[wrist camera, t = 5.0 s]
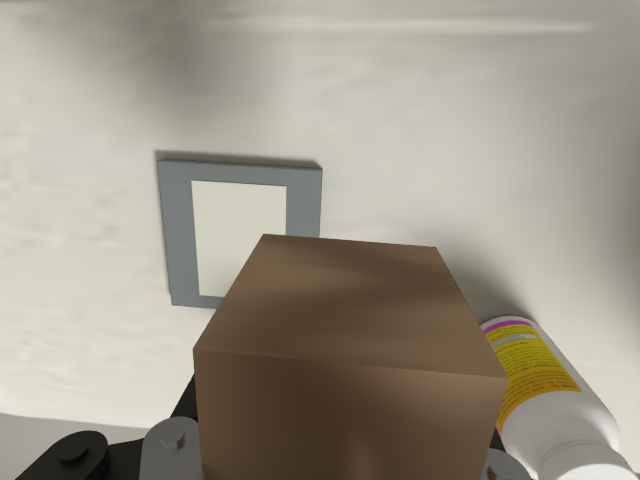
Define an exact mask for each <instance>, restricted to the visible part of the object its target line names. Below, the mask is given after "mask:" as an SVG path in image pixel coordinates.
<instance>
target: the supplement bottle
mask: <svg viewBox="0 0 640 480" xmlns="http://www.w3.org/2000/svg"><path fill="white" fill-rule="evenodd" d="M480 327H481V329H482V331H483V332H484V334H485V336H486V338H487V340H488V341H489V343H490V345H491V347H492V348H493V350H494V352H495V354H496V356H497V357H498V359H499V361H500V363H501V365H502V366H503V368H504V370H505V372H506V373H507V375H508V377H509V382H508V385H507V389H506V392H505V396H504V399H503V402H502V406H501V409H500V413H499V416H498V419H497V423H496V426H495V427H496V429H497V431H498V434H499V436H500V438H501V441H502V443H503V445H504V447H505V450H506V452H507V453H508V454H509V455H511V456H513V457H514V458H515V459H517V460H518V461H519V462H520V463H521V464H522V465H523V466H524V467H525V468H526V470H527V471H528V473H529V475H530V477H531V478H533V479H536V480H638V478H637V476H636V474H635V473H634V472H633V470H632V469H631V467H630V466H629V464H628V463H627V461H626V460H625V459H624V457H622V456H621V455H620V454H619V453H618V451H619V448H620V440H621V438H620V431H619V427H618V424H617V422H616V420H615V418H614V417H613V415H612V414H611V412H610V411H609V410H608V409H607V407H606V406H605V405H604V404H603V402H602V401H601V400H600V399H599V398H598V396H597V395H596V394H595V393H594V392H593V390H592V389H591V388H590V387H589V385H588V384H587V383H586V382H585V380H584V379H583V378H582V377H581V376H580V374H579V373H578V372H577V371H576V369H575V368H574V367H573V366H572V365H571V363H570V362H569V361H568V360H567V358H566V357H565V356H564V355H563V353H562V352H561V351H560V350H559V348H558V347H557V346H556V345H555V343H554V342H553V341H552V340H551V339H550V337H549V336H548V335H547V334H546V333H545V331H544V330H543V329H542V328H541V327H540V326H539V325H537V324H536V323H535V322H533V321H531V320H529V319H526V318H523V317H518V316H503V317H498V318H494V319H492V320H489V321H487V322H485V323H484V324H482V325H481V326H480Z"/></svg>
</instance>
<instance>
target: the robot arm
mask: <svg viewBox="0 0 640 480" xmlns="http://www.w3.org/2000/svg"><path fill="white" fill-rule="evenodd" d="M15 480H205V474H204V464H201V454H200V441H199V427H198V414H197V400H196V386H195V373H194V375H193V376H192V378H191V381H190V382H189V384H188V385H187V387H186V389H185V391H184V393H183V395H182V396H181V398H180V400H179V402H178V404H177V405H176V407H175V409H174V411H173V413H172V415H171V416H170V418H168V419H166V420H163V421H161V422H159V423H158V424H156V425H155V426H154V427H153V428H151V429H150V431H149V432H148V433H147V434H146V436H145V437H144V438H142V439H139V440H134V441H129V442H123V443H117V444H111V445H108V442H107V439H106V438H105V436H104V435H102V434H101V433H99V432H97V431H80V432H76V433H73V434H70V435H68V436H66V437H64V438H62V439H60V440H59V441H57V442H56V443H55V444H53V445H52V446H51V447H50V448H49V449H48V450H47V451H46V452H44V454H42V455H41V456H40V457H39V458H38V459H37V460H36V461H35V462H34V463H33V464H31V465H30V466H29V467H28V468H27V469H26V470H25V471H24V472H23V473H22V474H21V475H19V476H18V477H17V478H16V479H15ZM480 480H533V479H531V477H530V475H529V473H528V471H527V470H526V468H525V467H524V466H523V465H522V464H521V463H520V462H519V461H518V460H517V459H515V458H514V457H513V456H511V455H509V454H508V453H507V452H506V450H505V447H504V445H503V443H502V441H501V438H500V436H499V434H498V431H497V429H496V427H495V430H494V433H493V436H492V440H491V443H490V447H489V450H488V454H487V457H486V460H485V464H484V467H483V471H482V474H481V477H480Z"/></svg>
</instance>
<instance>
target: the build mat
mask: <svg viewBox="0 0 640 480" xmlns="http://www.w3.org/2000/svg"><path fill="white" fill-rule="evenodd" d="M157 166H158V176H159V185H160V195H161V205H162V215H163V224H164V234H165V244H166V253H167V263H168V273H169V283H170V292H171V302H172V305H174V306H186V307H198V308H211V309H217V308H218V307H219V305H220V303H221V302H222V300H223V299H224V297H225V295H226V294H227V292H228V290H229V289H230V287H231V286H232V284H233V282H234V281H235V279H236V277H237V276H238V274H239V272H240V271H241V269H242V268H243V266H244V264H245V263H246V261H247V259H248V258H249V256H250V254H251V253H252V251H253V250H254V248H255V246H256V245H257V243H258V241H259V240H260V238H261V236H262V235H263V233H264V234H277V235H289V236H302V237H314V238H319V231H320V210H321V190H322V170H323V169H320V168H303V167H287V166H271V165H254V164H238V163H222V162H206V161H189V160H173V159H162V160H159V161H157Z"/></svg>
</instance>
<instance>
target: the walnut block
mask: <svg viewBox="0 0 640 480" xmlns="http://www.w3.org/2000/svg"><path fill="white" fill-rule="evenodd" d="M193 359H194V373H195V386H196V400H197V414H198V427H199V441H200V454H201V464H204V474H205V480H480V477H481V474H482V471H483V467H484V464H485V460H486V457H487V454H488V450H489V447H490V443H491V440H492V436H493V433H494V430H495V426H496V423H497V419H498V416H499V413H500V409H501V406H502V402H503V399H504V396H505V392H506V389H507V385H508V382H509V377H508V375H507V373H506V372H505V370H504V368H503V366H502V365H501V363H500V361H499V359H498V357H497V356H496V354H495V352H494V350H493V348H492V347H491V345H490V343H489V341H488V340H487V338H486V336H485V334H484V332H483V331H482V329H481V327H480V325H479V323H478V322H477V320H476V318H475V316H474V315H473V313H472V311H471V309H470V307H469V306H468V304H467V302H466V300H465V298H464V297H463V295H462V293H461V291H460V290H459V288H458V286H457V284H456V282H455V281H454V279H453V277H452V275H451V273H450V272H449V270H448V268H447V266H446V264H445V263H444V261H443V259H442V257H441V256H440V254H439V252H438V250H437V248H436V247H427V246H414V245H402V244H389V243H377V242H364V241H352V240H339V239H327V238H314V237H302V236H289V235H277V234H264V233H263V235H262V236H261V238H260V240H259V241H258V243H257V245H256V246H255V248H254V250H253V251H252V253H251V254H250V256H249V258H248V259H247V261H246V263H245V264H244V266H243V268H242V269H241V271H240V272H239V274H238V276H237V277H236V279H235V281H234V282H233V284H232V286H231V287H230V289H229V290H228V292H227V294H226V295H225V297H224V299H223V300H222V302H221V303H220V305H219V307H218V308H217V310H216V312H215V313H214V315H213V317H212V318H211V320H210V321H209V323H208V325H207V326H206V328H205V330H204V331H203V333H202V335H201V336H200V338H199V339H198V341H197V343H196V344H195V346H194V348H193Z"/></svg>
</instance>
